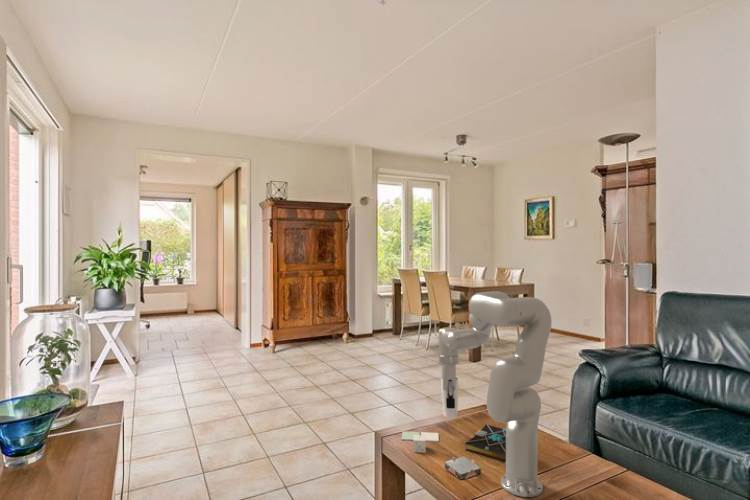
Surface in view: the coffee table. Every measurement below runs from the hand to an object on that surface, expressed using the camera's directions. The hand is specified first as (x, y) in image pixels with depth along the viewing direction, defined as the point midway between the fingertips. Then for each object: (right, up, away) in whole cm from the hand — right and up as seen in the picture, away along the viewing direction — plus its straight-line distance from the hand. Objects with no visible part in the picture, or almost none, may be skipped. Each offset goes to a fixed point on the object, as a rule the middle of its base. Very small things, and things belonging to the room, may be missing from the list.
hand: (450, 404), depth 169 cm
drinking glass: (0, -5, 0) cm, 5 cm away
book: (+17, -14, -5) cm, 23 cm away
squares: (-12, -14, +2) cm, 18 cm away
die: (-13, -14, -8) cm, 21 cm away
